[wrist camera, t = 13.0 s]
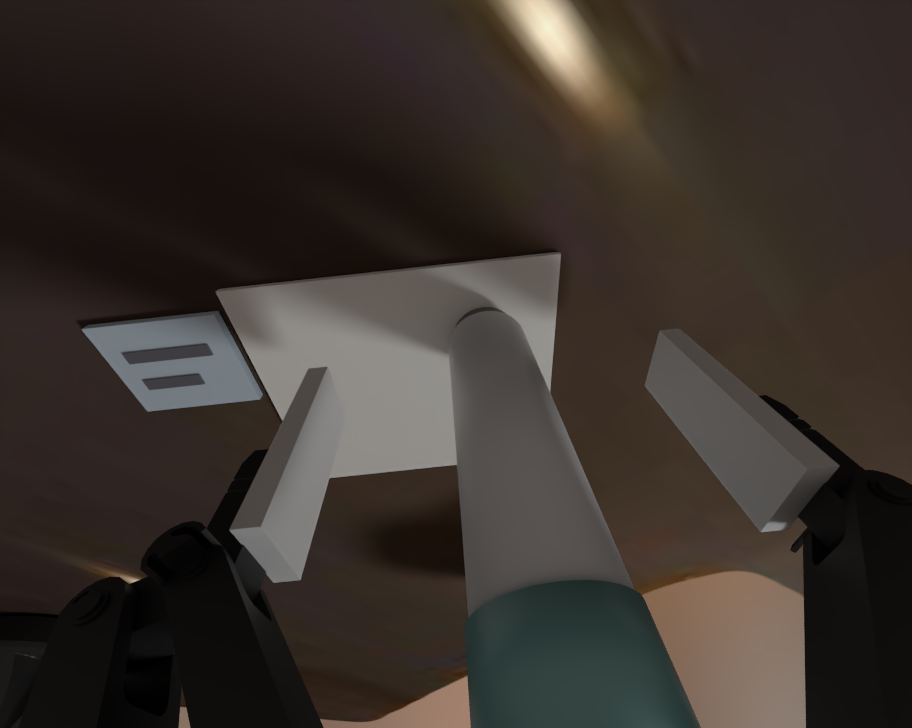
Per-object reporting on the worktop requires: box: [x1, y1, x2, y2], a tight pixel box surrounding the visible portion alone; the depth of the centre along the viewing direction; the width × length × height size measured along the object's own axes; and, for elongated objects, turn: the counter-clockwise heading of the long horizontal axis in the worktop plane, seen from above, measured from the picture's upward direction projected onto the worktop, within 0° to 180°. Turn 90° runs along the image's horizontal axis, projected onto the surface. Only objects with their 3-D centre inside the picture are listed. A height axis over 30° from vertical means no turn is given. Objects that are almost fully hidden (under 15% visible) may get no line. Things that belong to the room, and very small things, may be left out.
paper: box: [216, 252, 561, 478], centre depth 19 cm, size 15×13×1 cm
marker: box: [448, 307, 701, 728], centre depth 12 cm, size 4×4×14 cm
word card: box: [82, 311, 263, 411], centre depth 17 cm, size 6×5×1 cm
